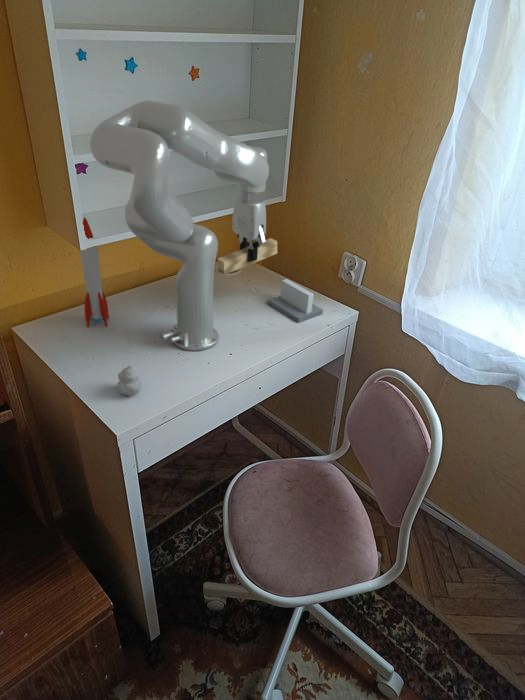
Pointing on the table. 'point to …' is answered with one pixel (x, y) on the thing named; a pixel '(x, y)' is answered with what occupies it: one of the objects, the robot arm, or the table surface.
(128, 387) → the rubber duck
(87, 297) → the toy rocket
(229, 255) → the rod
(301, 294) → the fulcrum
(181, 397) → the table surface
